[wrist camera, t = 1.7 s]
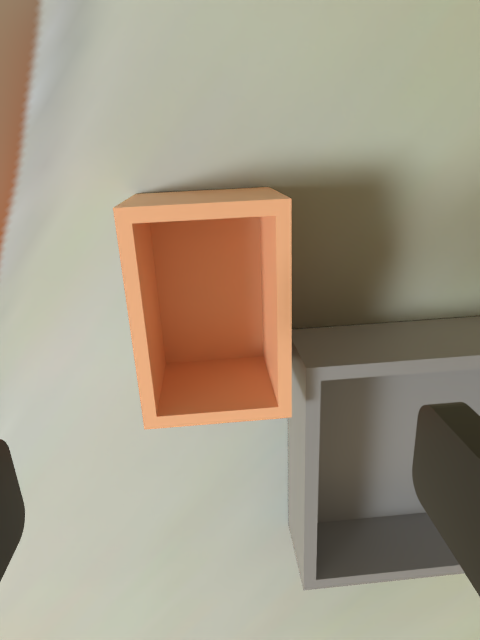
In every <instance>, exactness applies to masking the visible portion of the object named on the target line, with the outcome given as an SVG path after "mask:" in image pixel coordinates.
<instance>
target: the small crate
mask: <svg viewBox="0 0 480 640" xmlns="http://www.w3.org/2000/svg"><path fill="white" fill-rule="evenodd" d="M113 211H114V218H115V225H116V232H117V239H118V246H119V253H120V260H121V267H122V274H123V281H124V288H125V295H126V302H127V309H128V316H129V323H130V330H131V337H132V344H133V351H134V358H135V366H136V373H137V380H138V387H139V394H140V401H141V408H142V415H143V422H144V429H156V428H168V427H181V426H193V425H205V424H217V423H229V422H241V421H254V420H266V419H278V418H290V417H292V256H291V198H289V197H288V196H286V195H284V194H282V193H280V192H278V191H276V190H274V189H272V188H270V187H257V188H238V189H218V190H199V191H179V192H159V193H140V194H135V195H133V196H132V197H130V198H128V199H127V200H125V201H123V202H122V203H120V204H119V205H117V206H115V207H114V208H113Z"/></svg>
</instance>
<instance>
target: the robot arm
mask: <svg viewBox="0 0 480 640" xmlns="http://www.w3.org/2000/svg"><path fill="white" fill-rule="evenodd" d="M412 478H413V484H414V489H415V492H416V495H417V497H418V499H419V501H420V503H421V505H422V506H423V508H424V510H425V511H426V513H427V514H428V516H429V517H430V519H431V521H432V522H433V524H434V525H435V527H436V528H437V530H438V532H439V533H440V535H441V536H442V538H443V539H444V541H445V543H446V544H447V546H448V547H449V549H450V550H451V552H452V554H453V555H454V557H455V558H456V560H457V561H458V563H459V565H460V566H461V568H462V569H463V571H464V572H465V574H466V576H467V577H468V579H469V580H470V582H471V583H472V585H473V587H474V588H475V590H476V591H477V593H478V594H479V596H480V416H479V415H478V414H477V413H476V412H475V411H474V410H473V409H472V408H471V407H470V406H468V405H467V404H466V403H464V402H452V403H440V404H429V405H423V406H422V407H421V408H420V410H419V413H418V418H417V428H416V437H415V446H414V456H413V465H412ZM24 521H25V508H24V502H23V499H22V495H21V491H20V487H19V484H18V480H17V476H16V472H15V469H14V465H13V461H12V458H11V454H10V450H9V447H8V445H7V444H6V442H5V441H3V440H1V439H0V581H1V579H2V577H3V575H4V573H5V571H6V568H7V566H8V564H9V562H10V560H11V558H12V556H13V554H14V552H15V550H16V548H17V545H18V543H19V541H20V539H21V536H22V532H23V528H24Z"/></svg>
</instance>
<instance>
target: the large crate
mask: <svg viewBox="0 0 480 640" xmlns="http://www.w3.org/2000/svg"><path fill="white" fill-rule="evenodd" d="M452 402H464V403H466V404H467V405H468V406H470V407H471V408H472V409H473V410H474V411H475V412H476V413H477V414H478V415H479V416H480V316H475V317H461V318H446V319H432V320H418V321H404V322H390V323H375V324H361V325H347V326H333V327H319V328H304V329H292V417H290V418H288V521H289V530H290V534H291V538H292V542H293V547H294V551H295V555H296V560H297V564H298V568H299V573H300V577H301V581H302V586H303V590H310V589H320V588H329V587H339V586H348V585H358V584H367V583H377V582H386V581H396V580H405V579H415V578H424V577H434V576H443V575H453V574H462V573H465V572H464V571H463V569H462V568H461V566H460V565H459V563H458V561H457V560H456V558H455V557H454V555H453V554H452V552H451V550H450V549H449V547H448V546H447V544H446V543H445V541H444V539H443V538H442V536H441V535H440V533H439V532H438V530H437V528H436V527H435V525H434V524H433V522H432V521H431V519H430V517H429V516H428V514H427V513H426V511H425V510H424V508H423V506H422V505H421V503H420V501H419V499H418V497H417V495H416V492H415V489H414V484H413V478H412V465H413V456H414V446H415V437H416V428H417V418H418V413H419V410H420V408H421V407H422V406H423V405H429V404H440V403H452Z"/></svg>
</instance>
